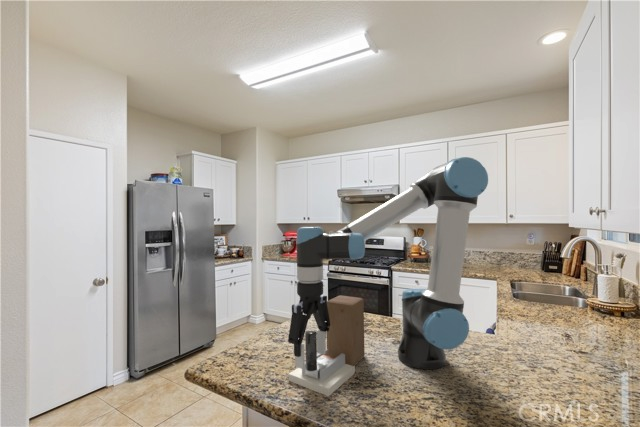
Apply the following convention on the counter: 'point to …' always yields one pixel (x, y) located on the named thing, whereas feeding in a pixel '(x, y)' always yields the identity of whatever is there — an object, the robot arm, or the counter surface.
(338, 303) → the wooden block
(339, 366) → the base
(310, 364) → the ram handle
